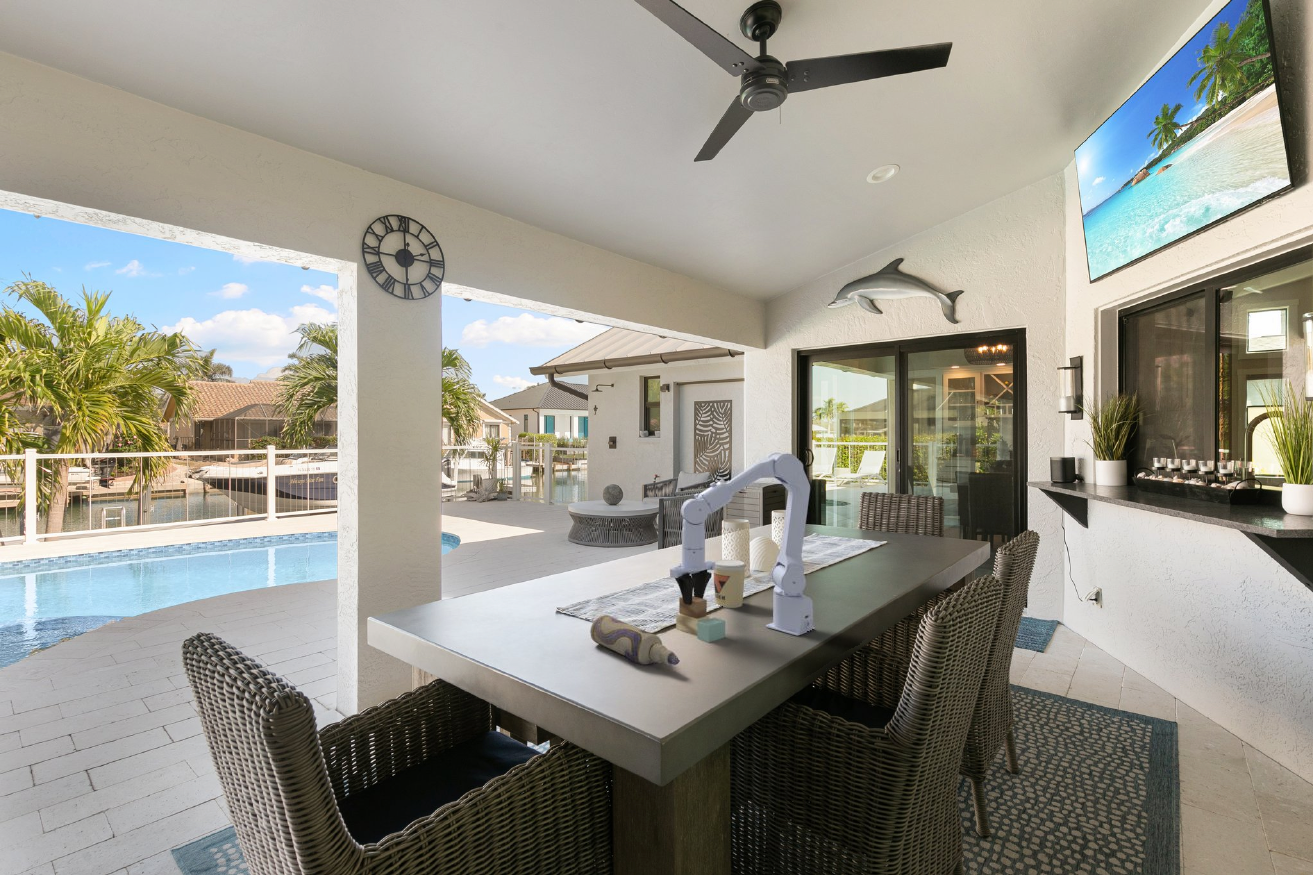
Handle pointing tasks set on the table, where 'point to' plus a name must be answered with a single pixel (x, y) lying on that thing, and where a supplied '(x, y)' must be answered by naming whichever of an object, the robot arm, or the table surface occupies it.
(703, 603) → the walnut block
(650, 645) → the decorative bottle
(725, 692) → the table surface
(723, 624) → the teal block
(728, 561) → the coffee cup
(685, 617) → the maple block
